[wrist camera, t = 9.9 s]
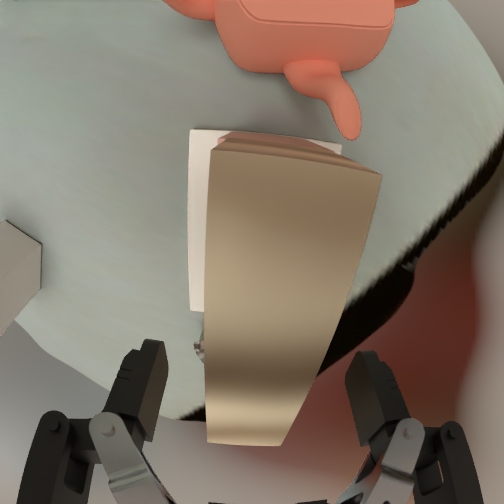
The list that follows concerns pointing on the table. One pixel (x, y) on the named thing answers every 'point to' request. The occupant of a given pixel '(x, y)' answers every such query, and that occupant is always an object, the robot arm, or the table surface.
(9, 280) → the milk carton
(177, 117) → the table surface
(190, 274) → the cream and salmon bracket
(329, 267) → the oak beam
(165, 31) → the table surface
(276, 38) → the teapot
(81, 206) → the table surface
